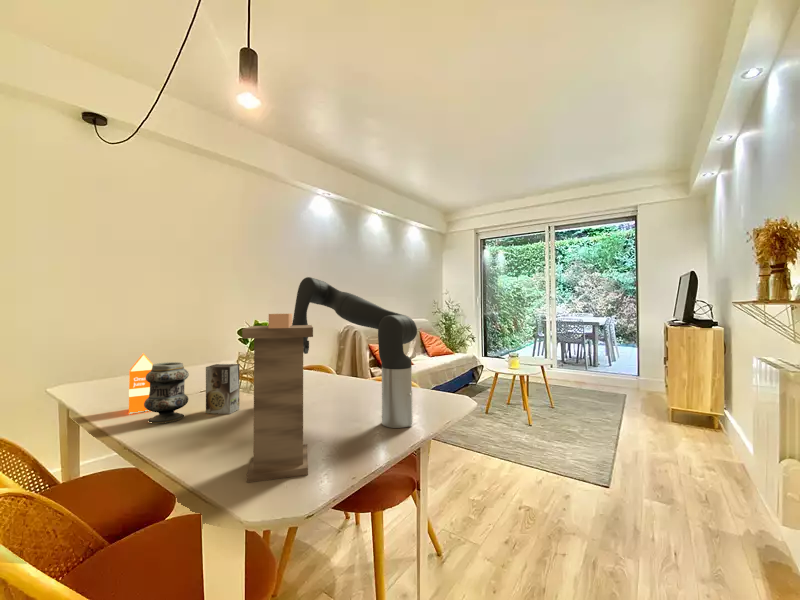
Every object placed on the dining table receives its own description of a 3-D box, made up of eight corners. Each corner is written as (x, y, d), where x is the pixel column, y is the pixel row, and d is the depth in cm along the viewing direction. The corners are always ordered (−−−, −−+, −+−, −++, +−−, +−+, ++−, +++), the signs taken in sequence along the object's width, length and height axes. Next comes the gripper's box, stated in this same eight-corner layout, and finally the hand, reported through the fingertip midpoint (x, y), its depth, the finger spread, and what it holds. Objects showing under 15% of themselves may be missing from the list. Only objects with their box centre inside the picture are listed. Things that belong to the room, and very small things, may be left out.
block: (277, 324, 99) (277, 313, 99) (292, 324, 100) (292, 313, 100) (268, 328, 74) (268, 313, 74) (288, 328, 75) (288, 313, 75)
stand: (252, 452, 87) (253, 326, 88) (311, 446, 91) (311, 325, 92) (241, 483, 72) (242, 328, 73) (312, 474, 75) (313, 327, 76)
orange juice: (128, 414, 121) (129, 355, 121) (128, 409, 128) (129, 353, 129) (156, 410, 125) (156, 353, 126) (155, 405, 132) (156, 351, 133)
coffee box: (240, 409, 127) (240, 363, 127) (229, 414, 120) (230, 366, 121) (216, 408, 128) (216, 363, 128) (204, 413, 121) (205, 366, 122)
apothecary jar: (196, 415, 119) (197, 361, 119) (161, 426, 108) (162, 367, 108) (170, 412, 123) (171, 360, 124) (134, 422, 112) (135, 365, 112)
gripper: (308, 366, 121) (309, 350, 107) (263, 368, 117) (258, 352, 103) (308, 345, 124) (309, 327, 110) (264, 346, 120) (260, 328, 106)
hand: (285, 339), depth 106 cm, fingers open, 8 cm apart
